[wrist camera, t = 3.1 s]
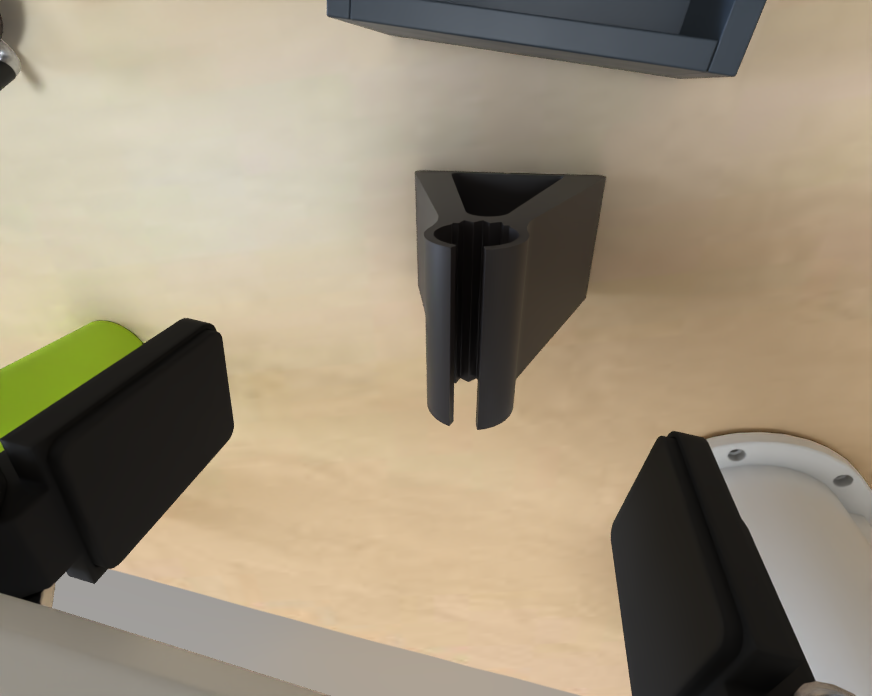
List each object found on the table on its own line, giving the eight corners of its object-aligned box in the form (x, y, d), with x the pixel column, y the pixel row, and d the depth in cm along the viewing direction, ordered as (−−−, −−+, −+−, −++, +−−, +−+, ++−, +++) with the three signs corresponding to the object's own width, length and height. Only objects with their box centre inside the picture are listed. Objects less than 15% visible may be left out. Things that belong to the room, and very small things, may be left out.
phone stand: (419, 281, 26) (332, 409, 16) (417, 169, 23) (308, 236, 13) (585, 295, 24) (607, 449, 14) (606, 175, 21) (654, 260, 11)
